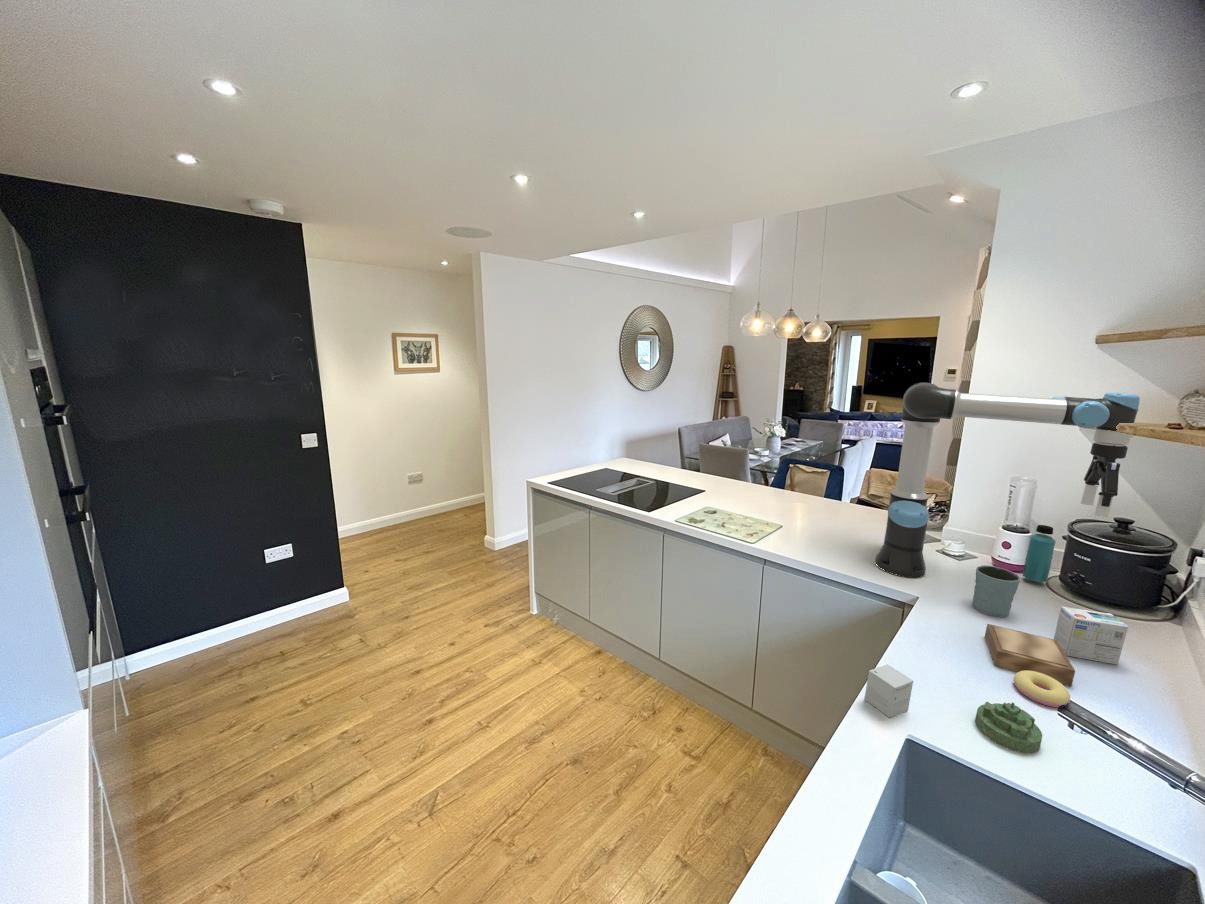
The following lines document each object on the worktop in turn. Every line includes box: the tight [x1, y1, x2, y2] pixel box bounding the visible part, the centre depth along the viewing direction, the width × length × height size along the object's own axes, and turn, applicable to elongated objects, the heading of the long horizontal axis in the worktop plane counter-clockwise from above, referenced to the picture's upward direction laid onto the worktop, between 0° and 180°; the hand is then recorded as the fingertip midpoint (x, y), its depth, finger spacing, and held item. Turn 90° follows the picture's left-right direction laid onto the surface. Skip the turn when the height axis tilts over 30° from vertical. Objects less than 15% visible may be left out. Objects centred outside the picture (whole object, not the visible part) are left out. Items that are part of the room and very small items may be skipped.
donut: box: [1013, 670, 1071, 708], centre depth 107 cm, size 10×5×9 cm
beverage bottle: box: [1022, 524, 1057, 583], centre depth 159 cm, size 6×7×20 cm
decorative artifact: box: [974, 701, 1043, 754], centre depth 95 cm, size 10×7×10 cm
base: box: [984, 623, 1076, 687], centre depth 118 cm, size 14×14×4 cm
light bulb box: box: [1053, 606, 1129, 665], centre depth 121 cm, size 11×7×11 cm, turn 71°
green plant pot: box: [972, 564, 1021, 618], centre depth 141 cm, size 10×10×12 cm
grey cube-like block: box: [864, 664, 914, 718], centre depth 102 cm, size 6×6×7 cm
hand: (1093, 510), depth 149 cm, fingers open, 13 cm apart
